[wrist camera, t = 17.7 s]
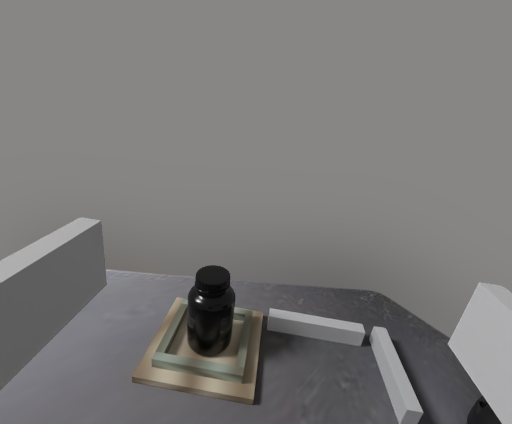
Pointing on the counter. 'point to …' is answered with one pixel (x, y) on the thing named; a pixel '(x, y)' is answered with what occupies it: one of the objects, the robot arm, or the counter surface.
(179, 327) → the seating station
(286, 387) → the counter surface
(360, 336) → the bracket
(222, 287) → the supplement bottle
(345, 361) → the counter surface
